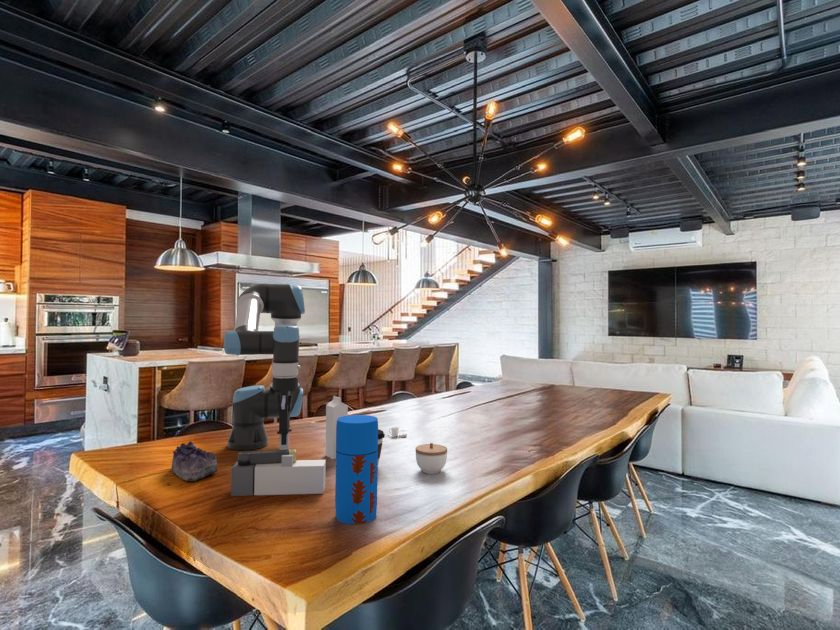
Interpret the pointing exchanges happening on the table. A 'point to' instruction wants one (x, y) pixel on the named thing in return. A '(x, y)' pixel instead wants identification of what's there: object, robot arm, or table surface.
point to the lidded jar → (431, 457)
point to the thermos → (356, 468)
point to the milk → (333, 424)
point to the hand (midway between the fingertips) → (283, 454)
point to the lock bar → (264, 456)
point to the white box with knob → (279, 477)
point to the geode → (193, 462)
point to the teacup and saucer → (395, 432)
